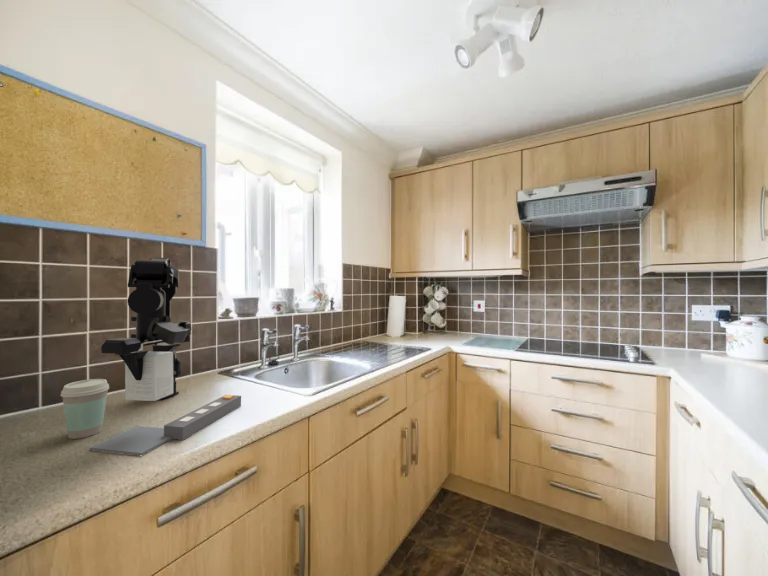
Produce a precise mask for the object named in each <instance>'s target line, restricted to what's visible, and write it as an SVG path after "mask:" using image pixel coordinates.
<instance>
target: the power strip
mask: <svg viewBox="0 0 768 576" xmlns="http://www.w3.org/2000/svg"><path fill="white" fill-rule="evenodd" d="M241 406H242V395H235V394H233V395H231V394H224V395H222V396H221V397H217V398H216V399H214V400H213V401H211V402H209V403H207V404H204V405H203V406H200V407H199V408H195V410H192V411H191V412H188V413H186V414H184V415H182V416H181V417H179V418H176V419H174V420H173V421H171V422H169V423H167V424H164V425H163V428H164V436H169V437H171V440H173V439H178V440H177V441H184V439H185V440H186V439H188V438H190V437H191V436H193V435H194V433H195V434H196V433H198V432H199V430H200V431H201V430H203V429H205V428H206V427H208V426H210V425H212V424H213V423H215V422H217V421H219V420H220V419H221V418H224V417H225V416H226V415H228V414H230V413H231V412H233V411H235V410H237V409H238V408H240V407H241ZM192 434H193V435H192ZM189 436H190V437H189ZM187 437H188V438H187Z"/></svg>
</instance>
